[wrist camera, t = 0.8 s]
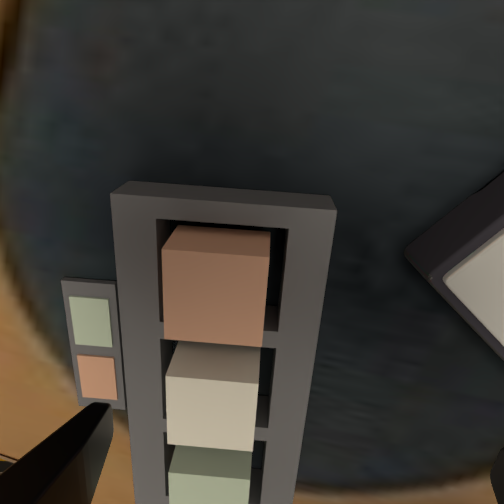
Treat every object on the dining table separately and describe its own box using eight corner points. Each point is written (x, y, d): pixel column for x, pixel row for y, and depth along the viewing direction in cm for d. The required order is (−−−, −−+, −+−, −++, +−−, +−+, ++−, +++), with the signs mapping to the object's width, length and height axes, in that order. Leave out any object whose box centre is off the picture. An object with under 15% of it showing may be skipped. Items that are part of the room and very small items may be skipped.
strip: (127, 405, 26) (124, 411, 25) (81, 401, 26) (77, 407, 25) (117, 281, 22) (113, 286, 22) (64, 277, 22) (59, 281, 22)
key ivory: (255, 407, 23) (252, 451, 20) (180, 401, 23) (167, 443, 20) (260, 345, 21) (258, 384, 19) (179, 338, 21) (165, 376, 19)
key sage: (248, 484, 26) (245, 532, 23) (181, 478, 26) (169, 525, 23) (252, 434, 24) (250, 479, 21) (180, 427, 24) (168, 472, 21)
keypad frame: (289, 481, 28) (290, 518, 25) (146, 469, 28) (135, 503, 26) (329, 195, 20) (337, 210, 17) (129, 180, 20) (110, 193, 18)
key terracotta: (263, 311, 21) (261, 347, 18) (179, 304, 21) (164, 338, 18) (270, 231, 19) (269, 257, 16) (178, 224, 19) (161, 249, 16)
